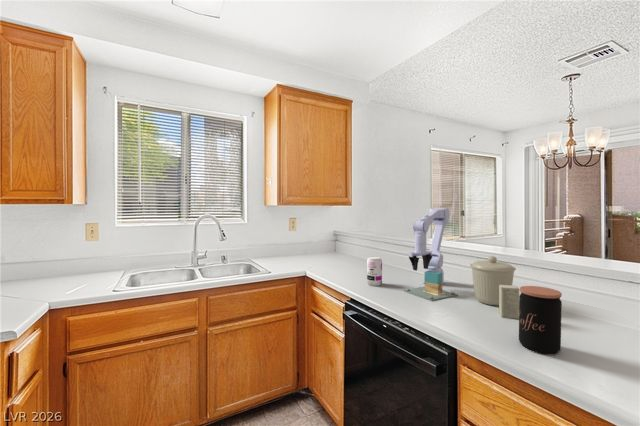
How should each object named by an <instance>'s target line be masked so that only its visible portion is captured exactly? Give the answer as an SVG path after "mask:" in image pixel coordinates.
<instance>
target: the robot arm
mask: <svg viewBox="0 0 640 426" xmlns="http://www.w3.org/2000/svg"><path fill="white" fill-rule="evenodd" d="M450 214H451V213H450V209H449V208H448V207H431V208H430V209H429V213H428V214H424V216H422V217H421V218H420V219H419V220H416V221H415V222H413V225H412V229H413V230H412V231H413V235H414V251H412V252H408V259H409V261H410V263H411V266H412V270H413V271H418V265H419V261H420V257H421V258H422V260H421V261H422V265H423V266H422V267H423V269H425V272H426V271H435V272H441V273H442V283H443V285H444V284H445V279H444V274H445V273H444V270H443V268H442V267H443V264H444V255H443V254H442V253H441V252H440V249H441V245H442V239H443V235H444V231H445V226H446V225H447V224H449V220H450ZM432 224H434V225H435V227H434V231H433V236H432V240H431V244H430V249H429V250H427V237H428V236H427V233H428V232H429V229H430V226H431V225H432ZM422 283H423V284H425V282H424V280H423V281H422Z"/></svg>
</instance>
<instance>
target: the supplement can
mask: <svg viewBox="0 0 640 426" xmlns="http://www.w3.org/2000/svg"><path fill="white" fill-rule="evenodd" d="M366 283H367V285H368V286H371V287H379V286H381V285H382V284H383V260H382V258H381V257H380V256H368V257H367V260H366Z"/></svg>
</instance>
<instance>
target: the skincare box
mask: <svg viewBox="0 0 640 426" xmlns="http://www.w3.org/2000/svg"><path fill="white" fill-rule="evenodd" d="M519 296H520V287H518V286H517V285H514V284H512V285H499V306H498V314H499V316H500V317H501V318H506V319H516V320H519Z"/></svg>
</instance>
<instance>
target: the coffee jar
mask: <svg viewBox="0 0 640 426" xmlns="http://www.w3.org/2000/svg"><path fill="white" fill-rule="evenodd" d="M519 292H520V293H519V319H518V341H519V343H520V345H521V346H522V347H523V348H524V347H525V348H524V349H526V348H527V350H528V351H530V350H531V351H530V352H533V351H534V352H533V353H536V352H537V354H540V353H541V354H540V355H546V354H553V355H557V354H558V353H559V352H560V351H561V349H562V348H561V347H562V346H561V345H562V308H563V307H562V305H563V304H562V300H561V298H562V295H563V294H562V292H561V291H559V290H557V289H554V288H550V287H546V286H545V287H544V286H537V285H536V286H535V285H523V286H520V287H519Z"/></svg>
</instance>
